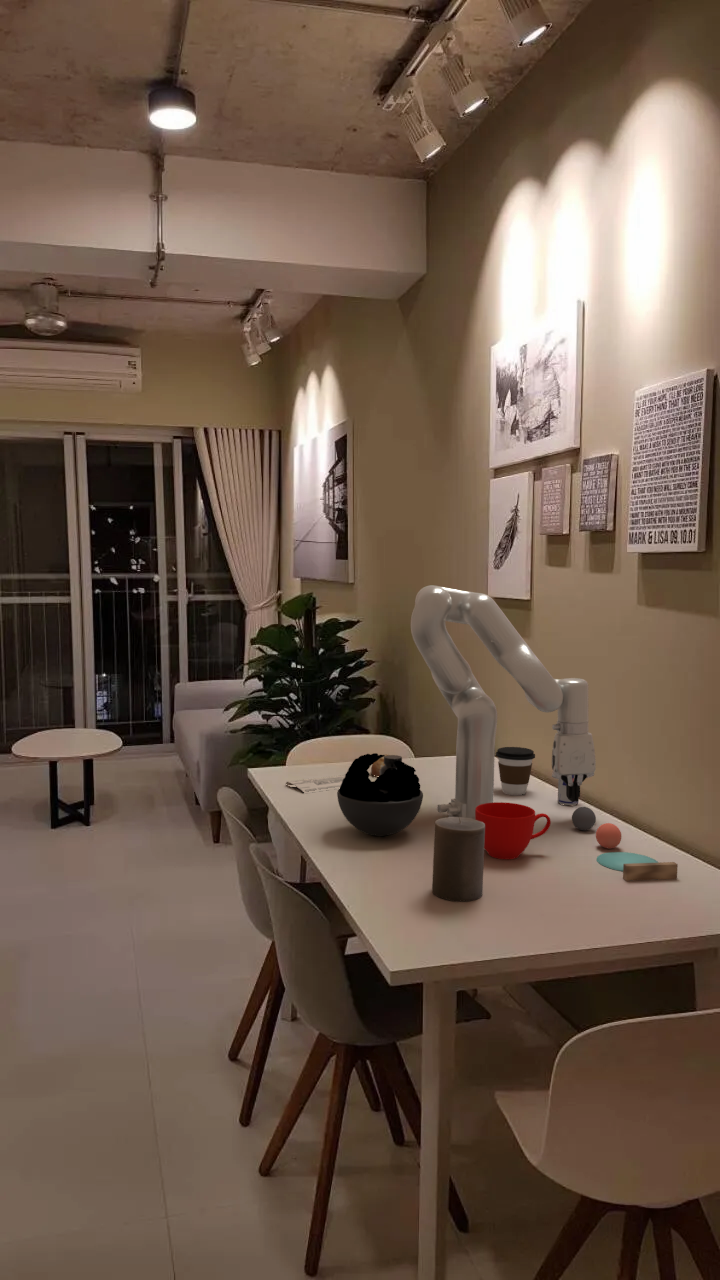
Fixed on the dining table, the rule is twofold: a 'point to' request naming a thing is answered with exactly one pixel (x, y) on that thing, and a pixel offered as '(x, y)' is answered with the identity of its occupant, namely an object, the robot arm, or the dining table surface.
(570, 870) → the dining table surface
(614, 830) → the object ball
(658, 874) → the rail
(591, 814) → the gray ball
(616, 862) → the disc
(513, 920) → the dining table surface
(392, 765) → the supplement bottle
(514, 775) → the coffee cup
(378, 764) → the bread roll
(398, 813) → the coal bowl
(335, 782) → the newspaper
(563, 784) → the energy drink
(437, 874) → the pillar candle
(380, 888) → the dining table surface
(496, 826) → the ceramic cup
